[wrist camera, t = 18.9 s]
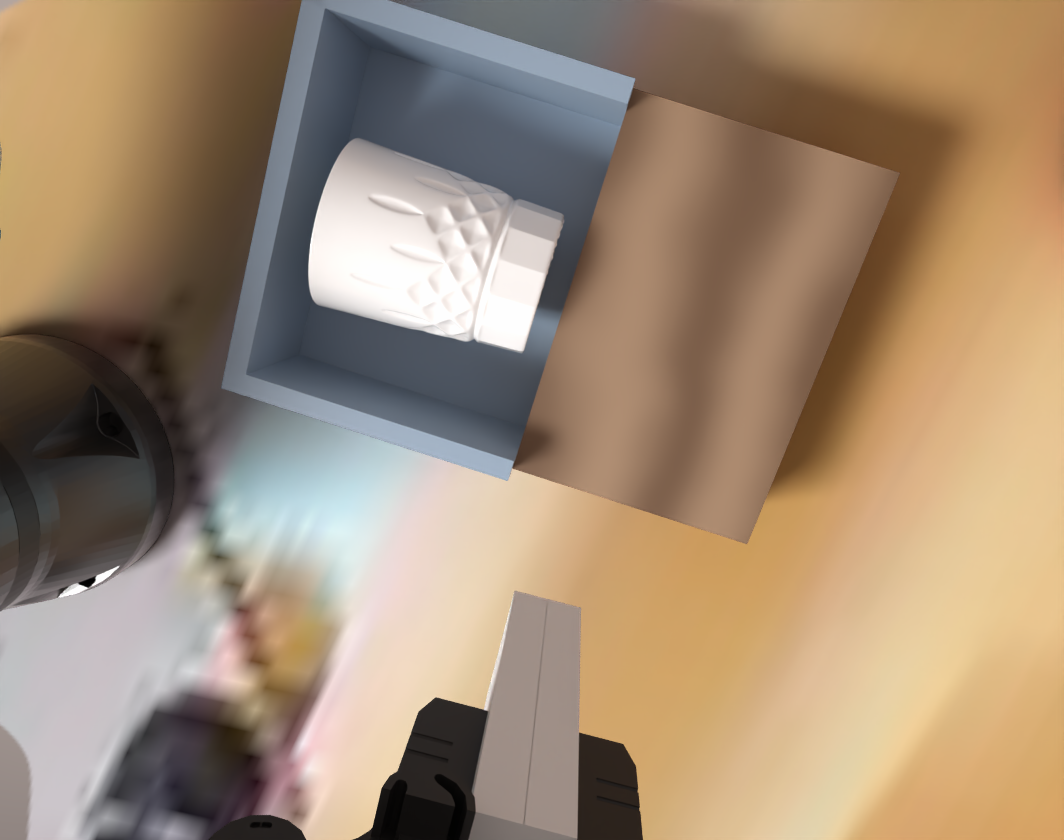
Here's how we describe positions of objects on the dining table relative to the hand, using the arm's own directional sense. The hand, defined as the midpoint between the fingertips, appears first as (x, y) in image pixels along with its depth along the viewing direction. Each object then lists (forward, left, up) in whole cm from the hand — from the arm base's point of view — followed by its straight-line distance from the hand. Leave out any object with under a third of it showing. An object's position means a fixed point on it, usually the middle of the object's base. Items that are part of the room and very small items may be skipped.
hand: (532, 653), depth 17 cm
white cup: (-3, +6, -21) cm, 22 cm away
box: (-9, +6, -25) cm, 27 cm away
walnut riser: (+4, +6, -25) cm, 26 cm away
